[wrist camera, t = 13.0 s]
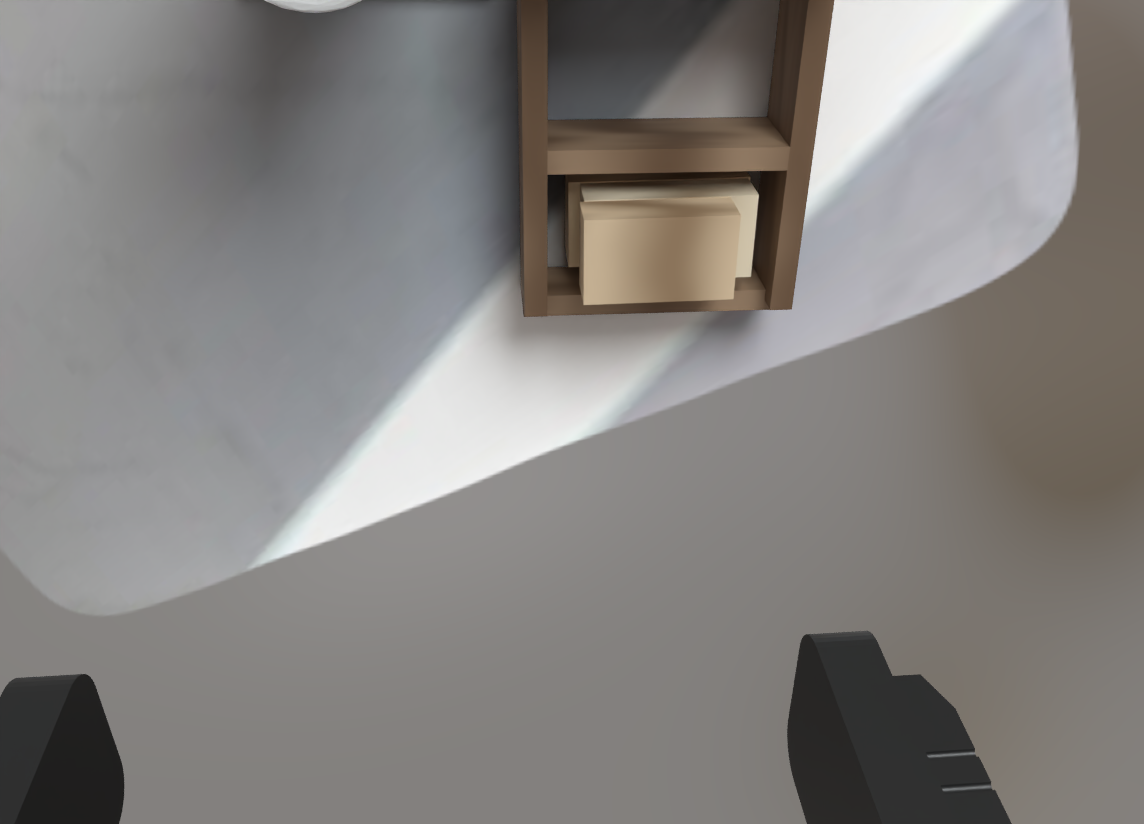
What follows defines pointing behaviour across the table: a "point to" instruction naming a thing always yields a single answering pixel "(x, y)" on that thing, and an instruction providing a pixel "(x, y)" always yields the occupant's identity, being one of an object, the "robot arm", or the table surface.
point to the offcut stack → (659, 235)
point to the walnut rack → (676, 162)
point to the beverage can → (313, 5)
